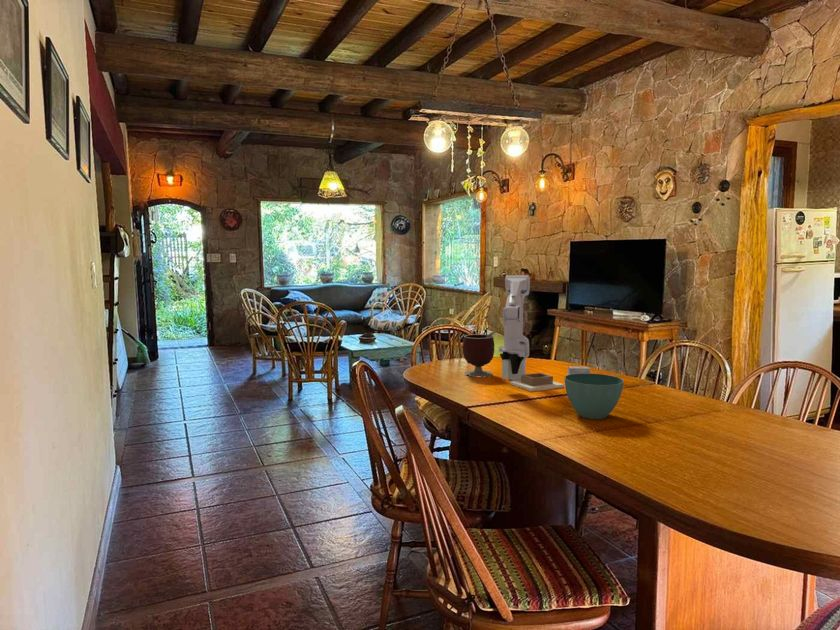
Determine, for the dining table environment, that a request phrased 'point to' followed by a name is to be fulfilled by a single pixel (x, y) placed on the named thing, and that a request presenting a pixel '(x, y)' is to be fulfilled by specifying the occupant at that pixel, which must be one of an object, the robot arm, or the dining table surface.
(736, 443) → the dining table surface
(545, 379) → the slot stand
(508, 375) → the block
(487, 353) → the mate gourd
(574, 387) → the teal bowl
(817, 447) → the dining table surface
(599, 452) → the dining table surface
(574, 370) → the medicine box
